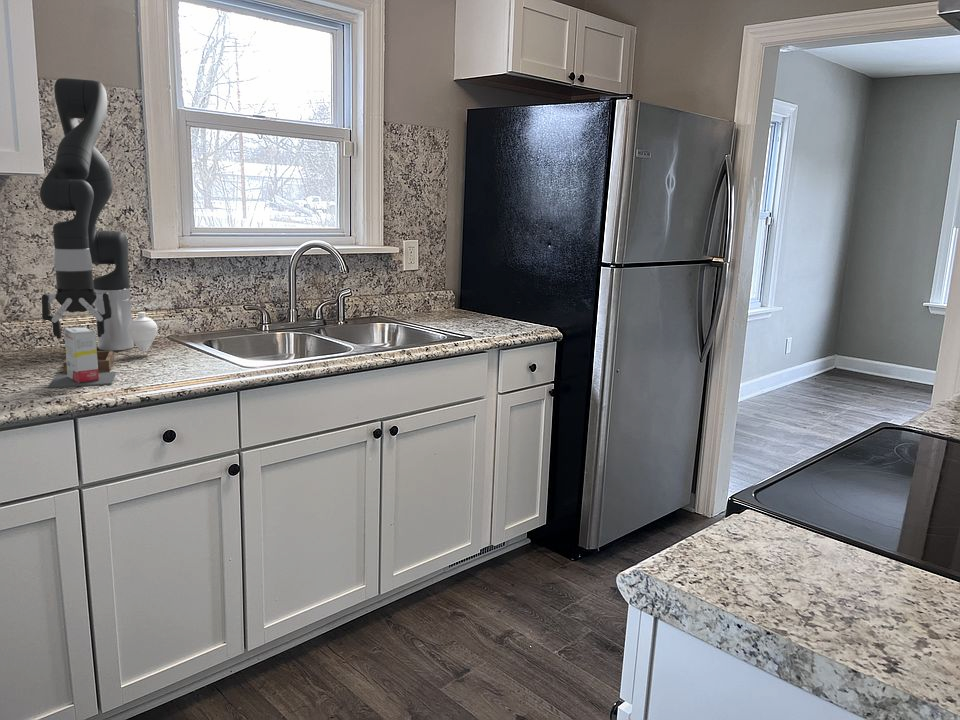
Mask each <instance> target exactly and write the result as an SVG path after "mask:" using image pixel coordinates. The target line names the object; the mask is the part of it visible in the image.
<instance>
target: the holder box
mask: <svg viewBox="0 0 960 720" xmlns="http://www.w3.org/2000/svg"><path fill="white" fill-rule="evenodd" d="M97 361H98V373H104V372H111V370H112V368H113V366H114V363H115V354H114V350H113V351H109V350H99V351H98V350H97ZM62 366H63V374H67V362H66V359H65V360H63V363H62Z"/></svg>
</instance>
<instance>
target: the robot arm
mask: <svg viewBox="0 0 960 720" xmlns="http://www.w3.org/2000/svg"><path fill="white" fill-rule="evenodd" d="M53 90H54V99H55V104H56V105H55V106H56V108H57V113H58V116H59V119H60V124H61V127H62V131H63V135H64V137H62V139H61V140H60V142H59V145H58V147H57V152H56V156H55V161H54V165H53V166H52V168H51V169H50V171H49V172H48V173H47V175H46V176H45V177H44V180H43V182H42V183H41V186H40V189H39V198H40V201H41V203H42V205H43V206H44V207H45V208H46V209H48V210H49V211H56V212H62V211H63V212H75V214H74V217H73V218H72V219H70V220H65V221H59V222H58V221H57V222H55V224H54V225H53V227H52V233H53V234H52V235H53V244H54V245H53V246H54V257H53V258H54V259H53V260H54V271H55V279H56V280H55V282H56V294H55V293H53V294H51V293H47V292H45V293H43V294H42V295H41V314H42V316H41V317H42V318H41V319H42V320H44V321H49V322H51V323H52V332H53V333H52V334H53V336H54V337H56V339H62V338H63V337H62V336H63V335H62V324H61V321H60V319H61V317H62V316H63V315H64V313H65V312H69V313H75V312H78V313H79V312H80V313H85V312H87V311H88V312H89V314H90V315H92V316H93V317H94V318H95V321H96V322H95V323H96V335H97V337H96V340H97V346H98V347H97V349H98V350H99V351H113V352H114V351H124V350H130V349H133V348H134V347H135V346H134V344H135V343H134V342H133V341H132V339H131V338H130V336H129V334H128V330H127V328H128V325H129V323H130V322H131V321H132V320H133V318H132V317H133V315H132V303H131V302H132V301H131V292H130V291H131V289H130V287H131V286H130V276H129V275H130V274H129V273H130V272H129V241H128V238H127V235H126V234H125V232H123V231H117V230H116V231H115V230H97V229H96V228H97V227H96V224H97V222H98V218H99V217H100V214H101V212H102V211H103V209H104V208H105V206H106V205H107V204H108V201H109V199H110V198H111V196H112V194H113V190H114V185H113V179H112V171H111V166H110V164H109V162H108V160H107V159H106V158H105V157H104V156H103V154H102V153H101V152H100V151H99V150H98V149H97V147H96V146H95V145H96V142H97V140H98V138H99V135H100V132H101V129H102V128H103V124H104V122H105V119H106V116H107V111H108V96H107V91H106V87H105V86H104V85H103V83H102V82H100V81H97V80H93V79H92V80H91V79H81V78H80V79H79V78H67V77H65V78H63V77H61V78H58V79H56V81H55V83H54V89H53ZM78 119H81V122H79V120H78ZM82 119H83V120H82ZM93 265H115V268H114V269H113V270H111V272H108V273H106V274H104V275H101V276H97V277H95V278H94V275H93ZM54 300H56V301H57V303H58V304H59V305H60V307H59V308H58V310H57V311H56V312H55V314H54V315H53V314H51V306H50V305H51V304H52V303H53V302H54Z"/></svg>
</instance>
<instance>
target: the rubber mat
mask: <svg viewBox="0 0 960 720" xmlns="http://www.w3.org/2000/svg"><path fill="white" fill-rule="evenodd" d="M98 374H99V380H96V381H88V382H80V383H78V382H76V381H74V380H73V379H71V378H69V377H68V376H67V374H64V373H63V374H56V375H55V376H54V378H53V379H52V380H51V381H50V383H49V384H48V386H47V389H58V388H60V387H61V388H73V387H74V388H75V387H76V388H77V387H78V386H79V387H95V386H111V385H112V384H113V382H114V379H115V376H116V374H117V373H116V371H110V372H104V373H98Z"/></svg>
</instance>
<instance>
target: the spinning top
mask: <svg viewBox="0 0 960 720" xmlns="http://www.w3.org/2000/svg"><path fill="white" fill-rule="evenodd" d="M137 315H138V316H137V317H135V318H132V321H131V322H130V323H129V325H128V328H127V330H128V334H129V336H130V338H131V339H132V341H133V344H135V346H137V348H138V349H139V350H141V352H143V355H144V356H145V355H146V351H147V350H148V349H149V348H150V347H151V345H152V344H153V342H154V340H155V339H156V336H157V335H158V331H159V329H158V325H157V323H156V322H155V321H154V320H153V318H150V317H148V316H147V317H146V311H139V312H137Z"/></svg>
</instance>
